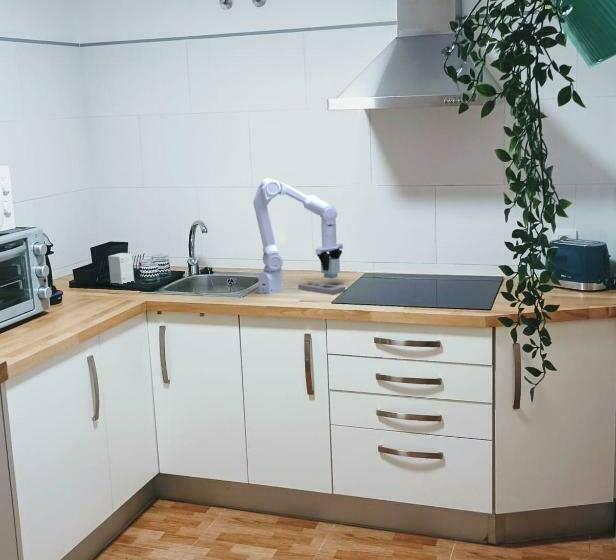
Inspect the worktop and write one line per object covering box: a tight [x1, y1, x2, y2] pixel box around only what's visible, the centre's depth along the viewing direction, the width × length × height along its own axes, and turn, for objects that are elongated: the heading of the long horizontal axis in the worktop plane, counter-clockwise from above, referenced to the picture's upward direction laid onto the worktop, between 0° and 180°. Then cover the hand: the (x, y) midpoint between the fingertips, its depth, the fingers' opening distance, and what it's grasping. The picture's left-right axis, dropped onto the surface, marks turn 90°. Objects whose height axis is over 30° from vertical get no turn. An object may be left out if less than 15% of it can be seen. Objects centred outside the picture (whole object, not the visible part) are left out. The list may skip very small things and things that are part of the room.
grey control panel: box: [297, 281, 346, 296], centre depth 312 cm, size 7×18×3 cm, turn 48°
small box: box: [107, 252, 135, 284], centre depth 339 cm, size 8×6×13 cm
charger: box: [320, 258, 341, 279], centre depth 319 cm, size 5×6×8 cm
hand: (330, 269), depth 320 cm, fingers closed on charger, 5 cm apart
